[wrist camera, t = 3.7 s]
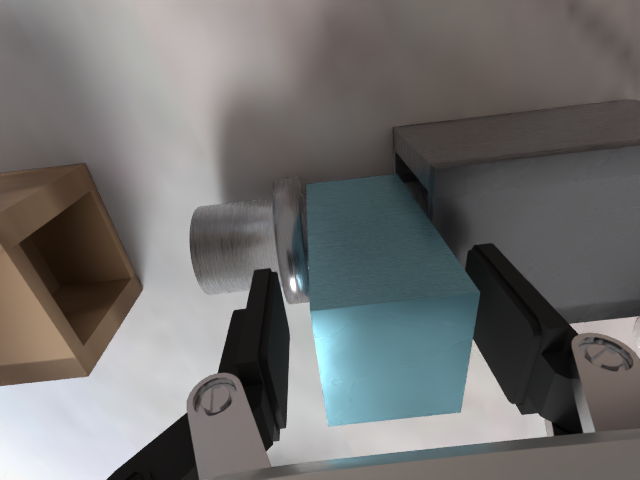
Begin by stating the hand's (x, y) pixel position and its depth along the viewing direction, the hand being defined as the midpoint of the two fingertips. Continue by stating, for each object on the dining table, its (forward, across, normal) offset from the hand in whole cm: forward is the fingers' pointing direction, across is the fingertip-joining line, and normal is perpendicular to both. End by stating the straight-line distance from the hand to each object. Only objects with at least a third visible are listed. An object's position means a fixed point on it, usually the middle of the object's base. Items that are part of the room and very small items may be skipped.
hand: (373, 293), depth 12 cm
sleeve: (+7, -8, 0) cm, 11 cm away
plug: (+7, -3, 0) cm, 8 cm away
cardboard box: (+7, +14, 0) cm, 16 cm away
